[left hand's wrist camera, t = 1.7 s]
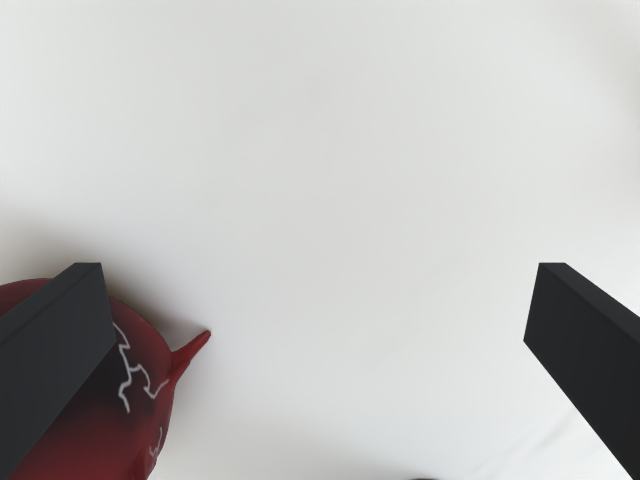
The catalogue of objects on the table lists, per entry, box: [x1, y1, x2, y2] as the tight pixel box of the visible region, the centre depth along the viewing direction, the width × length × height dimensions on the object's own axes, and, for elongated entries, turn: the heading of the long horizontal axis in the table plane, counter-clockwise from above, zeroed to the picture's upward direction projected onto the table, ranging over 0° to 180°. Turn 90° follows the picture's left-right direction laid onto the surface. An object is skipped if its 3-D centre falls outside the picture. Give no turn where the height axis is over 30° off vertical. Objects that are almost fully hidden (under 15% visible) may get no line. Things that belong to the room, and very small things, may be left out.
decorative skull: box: [0, 278, 211, 480], centre depth 37 cm, size 21×24×25 cm
